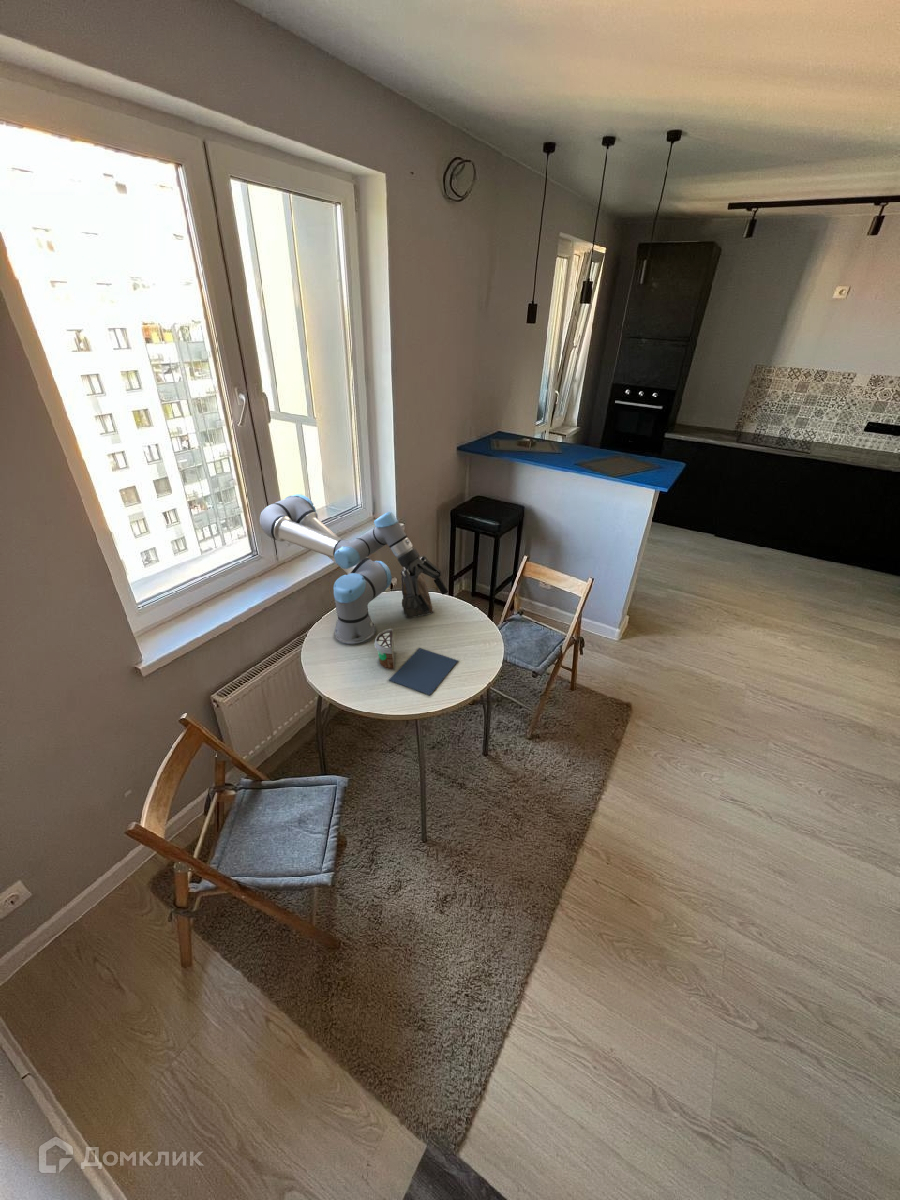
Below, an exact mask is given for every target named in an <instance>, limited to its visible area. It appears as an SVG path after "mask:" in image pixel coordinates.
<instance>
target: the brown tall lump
mask: <svg viewBox="0 0 900 1200" xmlns="http://www.w3.org/2000/svg"><path fill="white" fill-rule="evenodd" d="M405 570H406V569H405V567H402V569H401V572H403V571H405ZM400 579H401V594H402V599H401V607H402V609H403V614H404V615H405V616H406V618H407V619H411V618H415V617H420V616H426V615H427V616H428V615H429V614H433V613H434V611H433V610H434V607H433V603H432V599H431V596H430V593H429V588H428V586H427V583H426V581H425V577H424V573H421V574H420V575H418V591H419V594H421V595H422V597H423V598H424V600H425V601H426V603H427V604H428V606H429V607H430V610H428V611H426V612H424V611H423V609H422V608H421V606H420V605H418V603H417V602H416V600H415V599H414V598H408V595H407V591H406V587H405V583H404V579H403V577H402V576H401V578H400Z"/></svg>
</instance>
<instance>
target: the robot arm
mask: <svg viewBox="0 0 900 1200" xmlns="http://www.w3.org/2000/svg"><path fill="white" fill-rule="evenodd" d="M318 516H319V515H318V513H317V509H316V506H314V502H313V501H312V500H311V499H310V498H309V497H307V496H306V495H304V494H299V493H298V494H293V495H289V496H287V497H285V498H284V499H283V498H282V499H281V500H278V501H276V502H274V503H271V504H269V505H267V506H266V507H264V508H263V509H262V511H261V513H260V515H259V525H260V528H261V530H262V531H263V532H264V534H265V535H266V536H268V537H269V538H271V539H273V540H275V541H277V542H283V543H284V542H288V543H291V544H293V545H297V546H299V547H302V548H305V549H307V550H311V551H313V552H316V553H318V554H321V555H324V556H326V557H328V558H329V559H330V560H331V561H332V562H333V563H335V564H336V565H337V566H338V567H339V568H341V569H342V570H343V571H344V572H345V573H346V574H343V575H341V576H339V577H338V578H337V579H336V580H335V581H334V583H333V598H334V604H335V610H336V614H337V615H336V616H337V619H336V623H335V628H334V636H335V639H336V640H337V641H338V642H339V643H341V644H344V645H352V646H355V645H361V644H365V643H366V642H368V641H370V640H371V639H373V637H374V636H376V635H375V634H376V625H375V623H374V621H373V620H372V618H371V616H370V612H369V604H370V603H371V602H372V601H373V600H375V599H376V598H377V597H378V596H380V595H381V594H382V593H384V592H386V591H387V589H389V587H390V586H391V584H392V581H393V576H392V572H391V570H390V568H389V566H388V565H387V564H386V563H385V562H384V561H381V560H374V561H373V560H372V559H371V558H370V557H369V556H371V555H372V554H374V553H375V552H377V551H378V550H380V549H381V548H383V547H385V546H387V545H388V547H389V548H390V551H391V552H392V554H393V555H394V557H395V558H397V561H398V563H399V564H400V566H401V567H402V568H403V567H405V569H406V570H405V571H403V572H402V571H401V572H400V575H401V578H402V577H403V579H404V583H405V587H406V591H407V595H408V598H414V599H415V600H416V602H417V603H418V605H420V606H421V608H422V609H423V611H424V612H426V611H428V610H430V607H429V606H428V604H427V603H426V601H425V600H424V598H423V597H422V595H421V594H419V591H418V575H420V574H421V573H423V575H426V576H428V577H430V578H432V579H433V582H434V584H435V585H436V587H437V588H438V590H439V592H440V594H441V595H445V594H447V593H449V590H448V588H447V587H446V584H444V581H443V579H442V578H441V577H442V570H441V569H439V568H438V566H436V565H435V564H433V563H432V562H431V561H430V560H428V559H427V557H426V555H423V556H421V557H420V554H419V552H418V551H417V549H416V548H414V545H413V543H412V541H411V540H410V538H409V537H408V535H407V534H406V532H405V531H404V529H403V527H402V526H401V524H400V521H399V519H397V518H396V516H395V515H394V514H393V512H391V511H387V512H385V513H384V514H381V515H380V516H379V517H378V518H376V519H375V520H374V521H373V524H374V527H373V528H371V529H369V530H367V532H364V533H362V534H361V535H359V536H358V537H356V538H355V539H353V540H351V541H350V540H346V539H344V538H340V537H339V536H338V535H337V534H336V533H335V532H333V531H332V530H331V528H329V527H327V526H326V525H325V524H324V522H322V521H321V520H320V519H319V518H318Z"/></svg>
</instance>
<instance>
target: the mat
mask: <svg viewBox="0 0 900 1200" xmlns="http://www.w3.org/2000/svg"><path fill="white" fill-rule="evenodd" d="M458 660H459V659H455V658H452V657H449V656H445V655H442V654H439V653H436V652H433V651H430V650H428V649H424V648H420V647H418V649H416V651H415V652H414V653H413V654H411V656H410V657H409V658H408V659H407V660H406V661H405V663H404V664H402V666H401V667H400V668H399V669H398V670H397V671H396V672H395V673H394V674H393V675H392V676H391V677H390V678H389V679H388V681H389V682H392V683H394V684H397V685H400V686H402V687H405V688H408V689H411V690H413V691H416V692H419V693H422V694H424V695H427V696H432V694H433V693H434V692H435V691H436V689H437V688H438V687H439V686H440V684H441V683H442V682H443V680H444V679H445V678H446V677H447V676H448V675H449V674H450V672H451V670H452V669H453V668H454V667H455V666H456V665H457V664H458V662H459V661H458Z"/></svg>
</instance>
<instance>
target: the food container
mask: <svg viewBox="0 0 900 1200" xmlns="http://www.w3.org/2000/svg"><path fill="white" fill-rule="evenodd" d="M393 633H394V632H393V628H389V629H385V630H383V631H381V632H379V633H378V634H377V636H376V637H375V640H374V647H375V649H376V650H377V655H378V660H379V665H380V666H381V667H382V668H384V669H387V670H394V669H395V647H394V634H393Z"/></svg>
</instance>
